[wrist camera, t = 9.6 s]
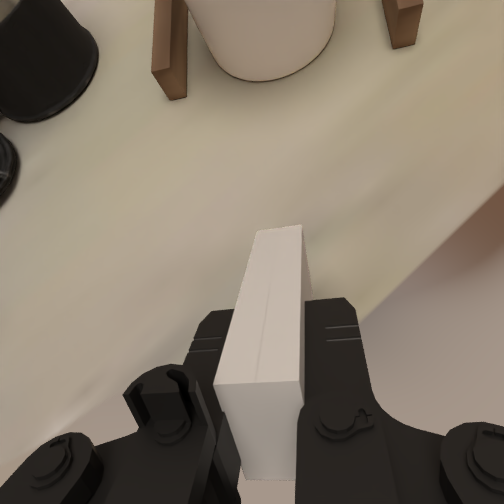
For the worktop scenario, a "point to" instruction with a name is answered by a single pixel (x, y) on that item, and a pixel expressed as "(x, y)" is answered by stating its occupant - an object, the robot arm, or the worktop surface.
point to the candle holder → (264, 34)
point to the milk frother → (39, 65)
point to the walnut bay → (175, 38)
